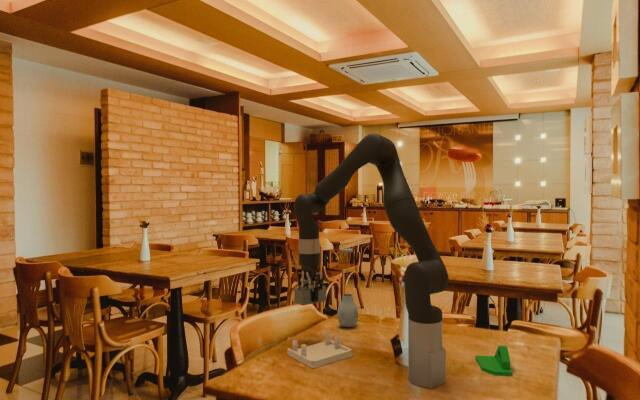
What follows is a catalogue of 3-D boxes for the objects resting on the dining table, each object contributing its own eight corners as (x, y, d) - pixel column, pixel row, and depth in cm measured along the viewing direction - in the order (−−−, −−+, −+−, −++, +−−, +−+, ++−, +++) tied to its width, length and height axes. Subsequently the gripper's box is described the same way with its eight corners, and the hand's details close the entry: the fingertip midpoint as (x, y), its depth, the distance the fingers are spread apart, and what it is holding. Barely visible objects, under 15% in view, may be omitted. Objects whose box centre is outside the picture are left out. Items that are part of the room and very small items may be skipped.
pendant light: (333, 325, 175) (332, 248, 174) (352, 322, 179) (351, 247, 178) (343, 331, 168) (342, 251, 167) (362, 328, 171) (361, 249, 170)
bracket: (475, 359, 140) (475, 338, 140) (501, 360, 139) (501, 339, 139) (483, 376, 128) (483, 352, 128) (512, 377, 127) (512, 353, 127)
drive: (326, 300, 157) (326, 286, 157) (302, 305, 151) (302, 290, 151) (317, 298, 161) (317, 284, 161) (294, 302, 155) (294, 288, 155)
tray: (353, 356, 143) (353, 340, 143) (312, 368, 134) (312, 352, 134) (326, 343, 155) (326, 329, 154) (287, 354, 145) (287, 339, 145)
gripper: (330, 252, 152) (331, 302, 152) (306, 248, 164) (307, 295, 164) (312, 254, 148) (313, 306, 148) (289, 250, 159) (290, 298, 159)
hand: (310, 300), depth 156 cm, fingers closed on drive, 5 cm apart
